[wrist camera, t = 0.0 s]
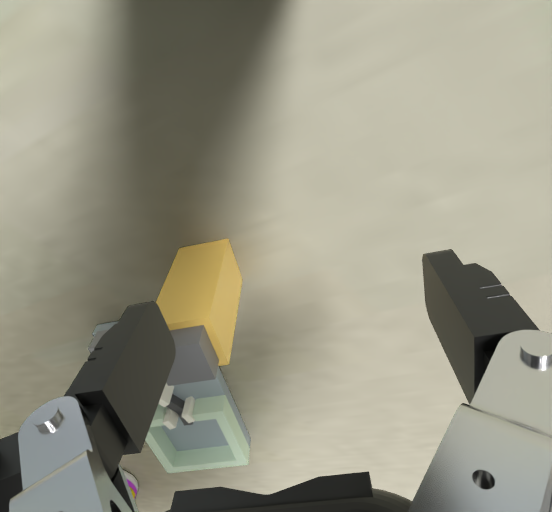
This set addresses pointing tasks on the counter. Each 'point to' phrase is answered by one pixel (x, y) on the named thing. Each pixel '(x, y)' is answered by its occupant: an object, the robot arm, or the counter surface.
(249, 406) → the counter surface
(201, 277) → the block
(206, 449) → the board
